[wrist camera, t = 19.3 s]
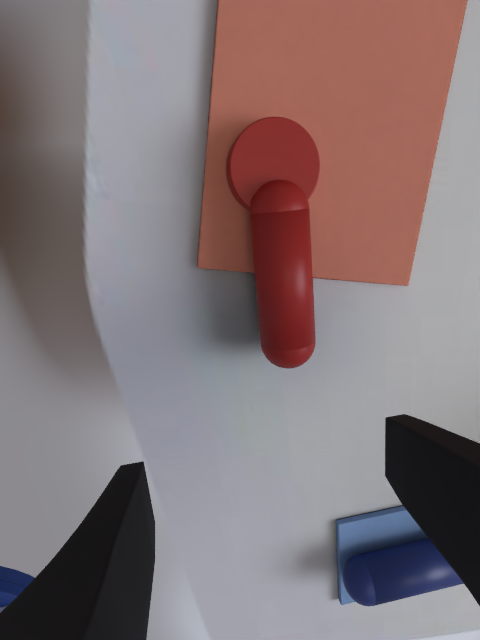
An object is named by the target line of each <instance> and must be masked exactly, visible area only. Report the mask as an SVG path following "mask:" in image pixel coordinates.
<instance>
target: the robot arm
mask: <svg viewBox="0 0 480 640" xmlns="http://www.w3.org/2000/svg"><path fill="white" fill-rule="evenodd" d="M385 476H386V478H387V479H388V481H389V483H390V485H391V486H392V488H393V490H394V492H395V493H396V495H397V496H398V498H399V500H400V501H401V503H402V504H403V506H404V507H405V509H406V510H407V511H408V513H409V514H410V515H411V516H412V518H413V519H414V520H415V522H416V523H417V524H418V525H419V527H420V528H421V529H422V531H423V532H424V533H425V534H426V536H427V537H428V538H429V539H430V541H431V542H432V543H433V544H434V546H435V547H436V548H437V549H438V551H439V552H440V553H441V554H442V556H443V557H444V558H445V559H446V561H447V562H448V563H449V564H450V566H451V567H452V568H453V570H454V571H455V572H456V573H457V575H458V576H459V577H460V579H461V580H462V581H463V583H464V584H465V585H466V587H467V588H468V589H469V591H470V592H471V594H472V595H473V597H474V598H475V600H476V601H477V603H478V604H479V606H480V443H477V442H474V441H472V440H469V439H467V438H464V437H462V436H460V435H457V434H455V433H452V432H450V431H447V430H445V429H442V428H440V427H438V426H435V425H433V424H430V423H428V422H425V421H423V420H420V419H417V418H415V417H412V416H409V415H405V414H403V415H397V416H392V417H386V432H385ZM154 563H155V520H154V515H153V509H152V504H151V499H150V493H149V488H148V483H147V478H146V472H145V467H144V462H138V463H132V464H127V465H121V466H120V468H119V469H118V470H117V472H116V473H115V475H114V476H113V478H112V479H111V481H110V482H109V484H108V485H107V487H106V488H105V490H104V491H103V493H102V494H101V496H100V497H99V499H98V500H97V502H96V503H95V505H94V506H93V507H92V509H91V510H90V512H89V513H88V514H87V516H86V517H85V519H84V520H83V521H82V523H81V524H80V525H79V527H78V528H77V529H76V531H75V532H74V533H73V534H72V536H71V537H70V538H69V539H68V541H67V542H66V543H65V544H64V546H63V547H62V548H61V550H60V551H59V552H58V553H57V554H56V556H55V557H54V558H53V559H52V560H51V561H50V563H49V564H48V565H47V566H46V567H45V568H44V569H43V570H42V571H41V573H40V574H39V575H38V576H37V577H36V578H35V579H34V580H33V581H32V582H31V583H30V584H29V585H28V586H27V587H26V588H25V589H24V590H23V591H22V592H21V593H20V594H19V595H18V596H17V597H16V598H15V599H14V600H13V601H12V602H11V603H10V604H9V605H8V606H4V607H0V640H146V636H147V627H148V618H149V609H150V600H151V592H152V582H153V573H154Z"/></svg>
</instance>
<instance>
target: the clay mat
mask: <svg viewBox="0 0 480 640" xmlns="http://www.w3.org/2000/svg"><path fill="white" fill-rule="evenodd" d="M466 5H467V0H218V4H217V17H216V30H215V43H214V56H213V68H212V81H211V94H210V107H209V120H208V133H207V145H206V158H205V171H204V184H203V197H202V210H201V222H200V235H199V248H198V261H197V267H198V268H203V269H215V270H227V271H239V272H251V273H255V270H254V259H253V247H252V235H251V223H250V211H249V210H247V209H246V208H244V207H243V206H242V205H241V204H240V203H239V202H238V201H237V200H236V199H235V197H234V196H233V194H232V192H231V190H230V188H229V185H228V181H227V176H226V162H227V157H228V154H229V151H230V148H231V146H232V144H233V143H234V141H235V140H236V138H237V137H238V136H239V135H240V134H241V133H242V131H243V130H244V129H245V128H246V127H248V126H249V125H250V124H252V123H253V122H255V121H257V120H259V119H262V118H266V117H284V118H287V119H291V120H293V121H295V122H296V123H298V124H300V125H301V126H302V127H303V128H304V129H306V131H307V132H308V133H309V134H310V136H311V137H312V139H313V140H314V142H315V144H316V147H317V150H318V153H319V158H320V173H319V179H318V183H317V185H316V188H315V190H314V192H313V194H312V195H311V197H310V198H309V199H308V202H309V208H310V230H311V252H312V275H313V278H322V279H334V280H346V281H358V282H370V283H382V284H393V285H405V286H407V285H408V284H409V279H410V274H411V269H412V264H413V259H414V255H415V250H416V245H417V240H418V235H419V231H420V226H421V221H422V216H423V211H424V207H425V202H426V197H427V192H428V187H429V183H430V178H431V173H432V168H433V163H434V159H435V154H436V149H437V144H438V139H439V134H440V130H441V125H442V120H443V115H444V110H445V106H446V101H447V96H448V91H449V86H450V82H451V77H452V72H453V67H454V62H455V58H456V53H457V48H458V43H459V38H460V34H461V29H462V24H463V19H464V14H465V9H466Z"/></svg>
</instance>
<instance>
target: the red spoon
mask: <svg viewBox="0 0 480 640" xmlns="http://www.w3.org/2000/svg"><path fill="white" fill-rule="evenodd" d="M319 173H320V158H319V153H318V150H317V147H316V144H315V142H314V140H313V139H312V137H311V136H310V134H309V133H308V132H307V131H306V129H304V128H303V127H302V126H301V125H300V124H298V123H296V122H295V121H293V120H291V119H287V118H284V117H266V118H262V119H259V120H257V121H255V122H253V123H252V124H250V125H249V126H248V127H246V128H245V129H244V130H243V131H242V133H241V134H240V135H239V136H238V137H237V138H236V140H235V141H234V143H233V144H232V146H231V148H230V151H229V154H228V157H227V162H226V176H227V181H228V185H229V188H230V190H231V192H232V194H233V196H234V197H235V199H236V200H237V201H238V202H239V203H240V204H241V205H242V206H243V207H244V208H246V209H247V210H249V211H250V223H251V235H252V247H253V259H254V270H255V282H256V294H257V306H258V318H259V330H260V342H261V348H262V351H263V353H264V355H265V356H266V358H267V359H268V360H269V361H270V362H271V363H273V364H274V365H276V366H278V367H282V368H295V367H298V366H300V365H302V364H304V363H305V362H306V361H307V360H308V359H309V358H310V357H311V355H312V353H313V351H314V348H315V320H314V297H313V275H312V252H311V230H310V208H309V202H308V199H309V198H310V197H311V195H312V194H313V192H314V190H315V188H316V185H317V183H318V179H319Z"/></svg>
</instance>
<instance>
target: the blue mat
mask: <svg viewBox="0 0 480 640" xmlns="http://www.w3.org/2000/svg"><path fill="white" fill-rule="evenodd" d="M336 531H337V558H338V586H339V601H340V603H341V605H344V604H348V603H352V602H356V601H354V600H353V599H352V598H351V597H350V596H349V594H348V593H347V591H346V589H345V587H344V583H343V577H342V576H343V569H344V566H345V564H346V562H347V561H348V560H349V559H350V558H351V557H353V556H355V555H358V554H362V553H367V552H371V551H375V550H380V549H384V548H389V547H393V546H397V545H402V544H406V543H411V542H415V541H419V540H424V539H428V537H427V536H426V534H425V533H424V532H423V531H422V529H421V528H420V527H419V525H418V524H417V523H416V522H415V520H414V519H413V518H412V516H411V515H410V514H409V513H408V511H407V510H406V509H405V507H404V506H400V507H396V508H391V509H386V510H382V511H377V512H372V513H368V514H363V515H358V516H354V517H349V518H344V519H340V520H336Z"/></svg>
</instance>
